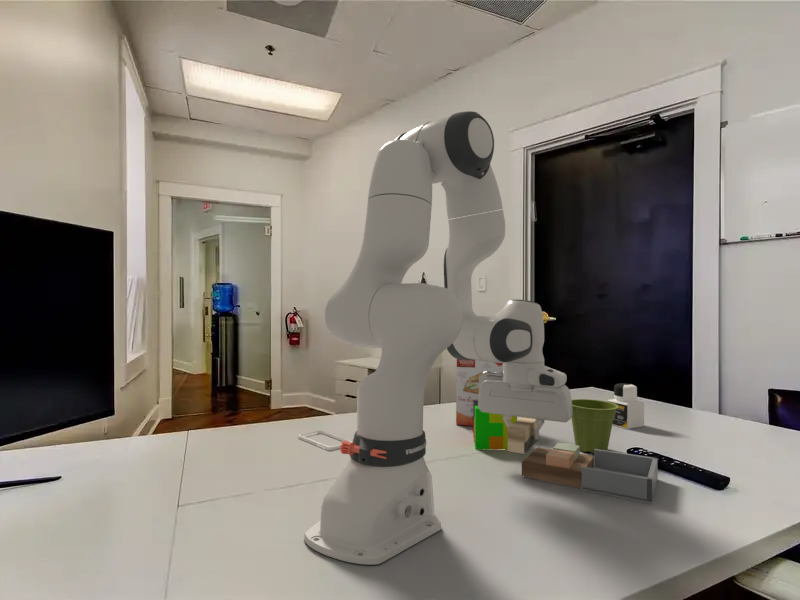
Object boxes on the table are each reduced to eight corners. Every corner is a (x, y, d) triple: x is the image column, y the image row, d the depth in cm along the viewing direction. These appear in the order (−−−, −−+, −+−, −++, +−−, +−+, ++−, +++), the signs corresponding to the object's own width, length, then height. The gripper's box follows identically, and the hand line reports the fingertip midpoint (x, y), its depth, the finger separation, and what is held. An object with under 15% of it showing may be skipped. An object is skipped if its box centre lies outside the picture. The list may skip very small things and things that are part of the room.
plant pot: (603, 460, 110) (603, 411, 110) (556, 448, 119) (556, 402, 119) (627, 450, 117) (627, 404, 117) (582, 439, 126) (582, 396, 127)
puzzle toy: (511, 439, 127) (511, 401, 127) (517, 450, 117) (517, 409, 117) (473, 438, 128) (473, 400, 128) (475, 449, 118) (475, 408, 118)
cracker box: (455, 425, 141) (455, 353, 141) (459, 420, 147) (459, 351, 147) (504, 429, 137) (504, 355, 137) (506, 424, 143) (506, 353, 143)
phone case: (353, 446, 122) (320, 434, 133) (353, 441, 122) (320, 429, 133) (329, 452, 117) (297, 439, 128) (329, 447, 117) (297, 434, 128)
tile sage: (575, 460, 101) (575, 451, 101) (553, 457, 103) (553, 447, 103) (579, 455, 104) (579, 445, 104) (558, 451, 107) (558, 442, 107)
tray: (652, 503, 86) (652, 479, 86) (581, 490, 93) (581, 467, 93) (657, 479, 98) (657, 458, 98) (594, 468, 105) (594, 448, 105)
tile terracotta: (569, 468, 96) (569, 458, 96) (546, 464, 98) (546, 454, 98) (573, 462, 100) (573, 452, 100) (551, 458, 102) (551, 449, 102)
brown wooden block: (582, 488, 94) (582, 472, 94) (521, 476, 100) (521, 461, 100) (593, 470, 104) (593, 456, 104) (537, 460, 110) (537, 447, 110)
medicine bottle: (606, 423, 143) (606, 383, 143) (623, 421, 146) (623, 381, 146) (627, 429, 137) (627, 387, 137) (644, 426, 140) (644, 385, 140)
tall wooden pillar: (524, 453, 101) (524, 429, 101) (507, 451, 102) (507, 427, 102) (538, 440, 110) (538, 418, 110) (523, 438, 112) (523, 416, 112)
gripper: (473, 372, 109) (473, 433, 109) (567, 379, 98) (567, 448, 98) (483, 368, 114) (484, 427, 114) (574, 375, 103) (574, 440, 104)
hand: (523, 436), depth 106 cm, fingers closed on tall wooden pillar, 3 cm apart
